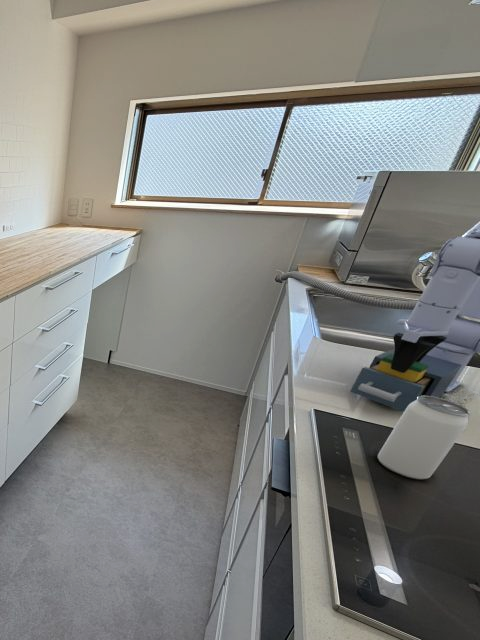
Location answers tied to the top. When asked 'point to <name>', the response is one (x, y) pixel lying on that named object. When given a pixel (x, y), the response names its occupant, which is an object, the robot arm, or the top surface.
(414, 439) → the can
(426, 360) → the cabinet
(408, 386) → the drawer
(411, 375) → the sponge
